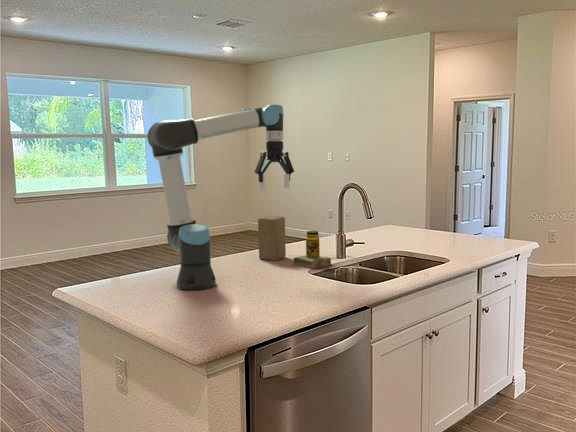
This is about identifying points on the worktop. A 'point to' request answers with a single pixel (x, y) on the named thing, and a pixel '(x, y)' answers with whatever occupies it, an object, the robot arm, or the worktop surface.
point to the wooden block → (271, 237)
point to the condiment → (312, 245)
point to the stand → (312, 262)
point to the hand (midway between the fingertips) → (274, 189)
